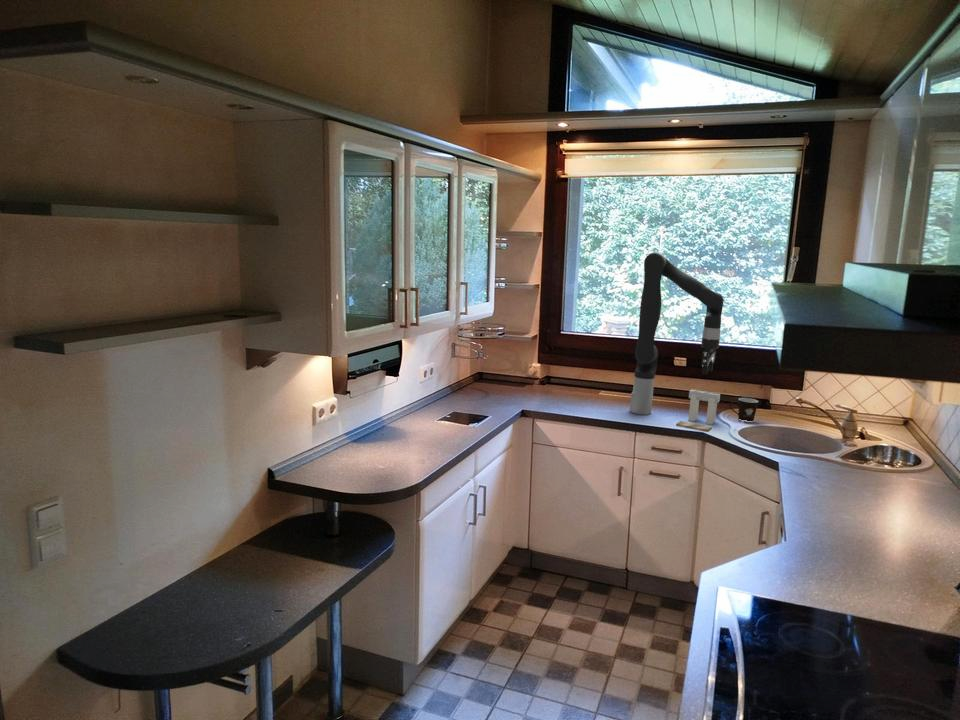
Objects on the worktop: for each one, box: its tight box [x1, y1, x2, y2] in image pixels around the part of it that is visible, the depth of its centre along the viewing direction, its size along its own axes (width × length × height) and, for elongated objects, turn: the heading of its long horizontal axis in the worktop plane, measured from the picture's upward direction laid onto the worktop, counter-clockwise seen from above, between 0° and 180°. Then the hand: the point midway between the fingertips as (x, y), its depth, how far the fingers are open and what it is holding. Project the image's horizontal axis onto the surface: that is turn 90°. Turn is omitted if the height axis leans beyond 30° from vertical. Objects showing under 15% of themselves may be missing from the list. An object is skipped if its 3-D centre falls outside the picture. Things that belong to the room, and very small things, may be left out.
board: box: [675, 420, 712, 433], centre depth 294 cm, size 14×6×1 cm, turn 57°
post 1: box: [688, 396, 700, 422], centre depth 306 cm, size 2×6×12 cm, turn 147°
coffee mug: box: [729, 397, 759, 422], centre depth 308 cm, size 12×9×10 cm
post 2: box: [705, 399, 718, 425], centre depth 302 cm, size 2×6×12 cm, turn 147°
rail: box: [688, 389, 721, 404], centre depth 303 cm, size 13×4×4 cm, turn 57°
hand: (706, 372), depth 300 cm, fingers open, 8 cm apart
